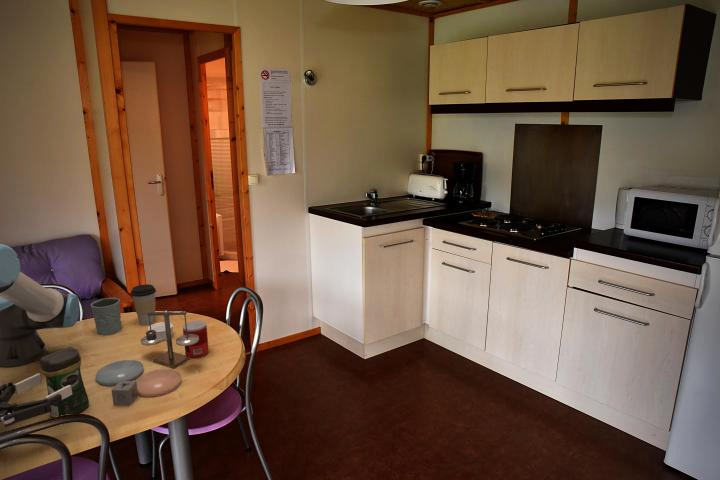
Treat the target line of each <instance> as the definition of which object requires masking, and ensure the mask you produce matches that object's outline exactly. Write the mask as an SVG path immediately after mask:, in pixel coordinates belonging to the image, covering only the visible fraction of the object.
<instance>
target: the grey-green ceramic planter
mask: <svg viewBox="0 0 720 480" xmlns="http://www.w3.org/2000/svg"><path fill="white" fill-rule="evenodd" d="M90 308H91V312H92V314H93V321H94V324H95V328H96V332H97V335H99V336H110V335H115V334H117V333H119V332H121V330H122V320H121V318H122V317H121V300H120V298H118V297H105V298H100V299H97V300H95V301H92V303H90Z"/></svg>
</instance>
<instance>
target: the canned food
mask: <svg viewBox="0 0 720 480" xmlns="http://www.w3.org/2000/svg"><path fill="white" fill-rule="evenodd" d="M186 324H187V334H195V335H198V336H199V341H198V342H197V343H195V344H193V345H189V346H184V351H185V354H184V355H186V356H190V359H199V358H202V357H205V356H207V354H208V353H209V350H210V349H209V337H208V328H207V326H208V325H207V322H206V321H204V320H191V321H188V322H186ZM182 333H183V335H186V327H185V324H183V326H182Z"/></svg>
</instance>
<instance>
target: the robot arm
mask: <svg viewBox="0 0 720 480" xmlns="http://www.w3.org/2000/svg"><path fill="white" fill-rule="evenodd" d="M80 307H81V306H80V299H79V297H78V295H77V294H75V293H70V292H69V293H62V292H60V291H59V290H58V289H55V288H49V287H44V286H43V285H42V284H40V283H39V282H37V281H35V280H34V279H33V278H31V277H29V276H27V275H26V274H24V273H23V272H22V271H21V261H20V259H19V258H18V254H17V252H16V251H15V250H14V249H13V248H12V247H11V246H8V245H7V244H3V243H0V367H3V368H12V367H19V366H23V365H27V364H29V363H32V362H33V363H34V361H37V360H39V359H41V357H44V356H46V354H47V351H48V350H47V346H46V343H45V341H44V340H43V338H42V337H41V335H40V334H39V332H38V331H37V330H43V329H44V330H47V329H48V330H49V329H66V328H72V327H74V326H76V324H77V322H78V319H79V317H80V310H81V308H80ZM39 384H42V377H41V373H39V372H38V373H36V374H34V375H32V376H30V377H28V378H24V379H23V380H21V381H19V382H17V383H14V382H13V381H10V382H8V383H7V384H6V383H4V384H2V385H0V424H1V423H4V427H6V428H7V427H10V426H13V425H15V424H16V423H20V422H22V421H23V422H24V421H26V420H30V419H33V418H36V417H40V416H43V415H46V414H50V413H49V412H51V411H52V410H51V406H52V405H53V404H55V403H57V402H59V401H61V400H63V399H65V398H66V397H68V396H70V395H72V389H71V385H68V386H66V387H64V388H62V389H60V390H58V391H56V392H54V393H52V394H50V395H48V394H47V396H45V397H44V399H43V398H42V399H39V400H33V401H29V402H22V403H19V404H18V403H16V402H15V403H9V401H10V400H11V399H12V397H14V394H15V393H16V394H17V395H19V394H21V393H22V392H25V391H27V390H29V389H31V388H34V387H35V386H37V385H39Z"/></svg>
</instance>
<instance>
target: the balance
mask: <svg viewBox="0 0 720 480" xmlns="http://www.w3.org/2000/svg"><path fill="white" fill-rule="evenodd" d="M147 315H148V317H149V325H148V327H149V326H150V330H149V331H148V330H147V331H146V332H145V336H143V337H142V338H140V344H141V345H142V346H146V347H147V346H148V347H149V346H155V345H158V344H160V343H162V342H164V341H163V336H162V335H159V334H156V331H155V330H151V325H152V324H151V323H150V316H155V317H156V316H158V317H159V316H161V317H163V320H164V321H163V322H165V330H166V338H167V340H166V346H167V347H166V348H167V351H165V352H163V353H161V354H160V355H157V356H156V357H154V358H152V363H154V364H157V365H160V366H163V367H167V368H169V369H172V370H175V369H176V368H178V367H180V366H182V365H183V364H185V363H186V362H188V361H190V360H191V358H190V356H186V354H182V353H179V352H175V351H174V347H173V339H172V337H173V336H172V337H171V328H170V323H171V321H170V320H171V319H170V316H184V325H185V327H186V335H180V336H178V337H177V338H176V340H175V344H176V345H177V346H180V347H185V346H189V345H193V344H195V343H197V342H198V341H199V336H198V335H195V334H187V324H186V323H187V311H186V310H180V311H175V310H174V311H169V310H163V311H155V312H148V313H147Z"/></svg>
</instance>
